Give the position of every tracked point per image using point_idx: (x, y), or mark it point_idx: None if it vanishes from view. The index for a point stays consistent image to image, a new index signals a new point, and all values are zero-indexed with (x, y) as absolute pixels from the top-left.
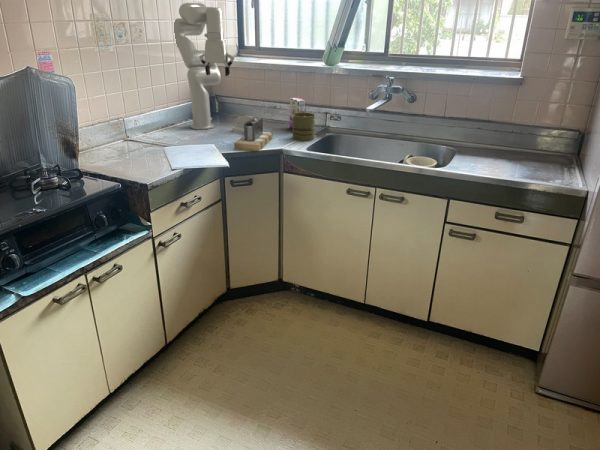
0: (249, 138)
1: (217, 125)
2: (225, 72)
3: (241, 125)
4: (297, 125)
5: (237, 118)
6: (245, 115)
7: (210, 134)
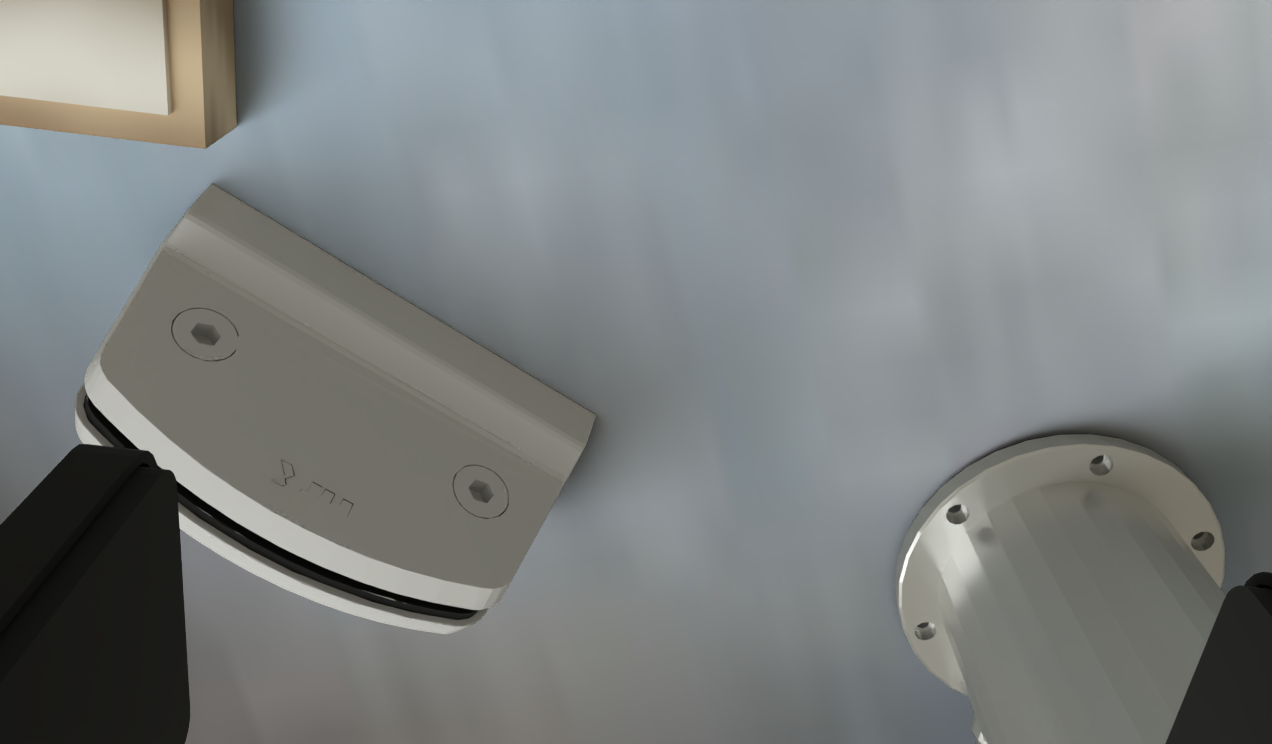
0: None
1: (864, 685)
2: (79, 557)
3: (431, 440)
4: None
5: (502, 564)
6: (332, 541)
7: (866, 204)
